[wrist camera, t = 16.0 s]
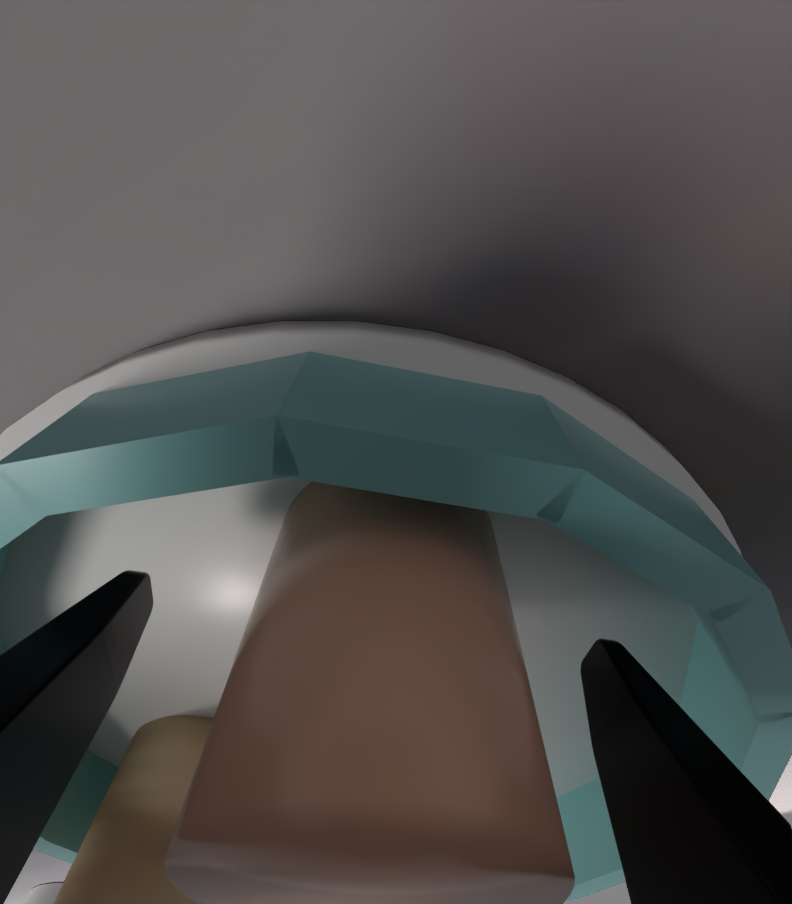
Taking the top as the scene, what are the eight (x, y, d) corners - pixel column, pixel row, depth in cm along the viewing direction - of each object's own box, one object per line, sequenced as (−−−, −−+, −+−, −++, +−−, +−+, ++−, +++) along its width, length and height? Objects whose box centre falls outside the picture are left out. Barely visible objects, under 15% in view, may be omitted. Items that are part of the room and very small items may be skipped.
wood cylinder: (207, 796, 18) (129, 1042, 13) (102, 740, 16) (-40, 1009, 11) (304, 765, 17) (259, 1030, 11) (203, 699, 14) (93, 989, 9)
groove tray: (307, 851, 24) (293, 950, 21) (-185, 597, 14) (-349, 716, 11) (799, 728, 16) (885, 852, 13) (508, 8, 7) (592, -123, 4)
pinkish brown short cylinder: (352, 637, 13) (314, 957, 8) (237, 512, 10) (72, 849, 5) (525, 580, 11) (621, 921, 6) (437, 421, 9) (475, 755, 4)
